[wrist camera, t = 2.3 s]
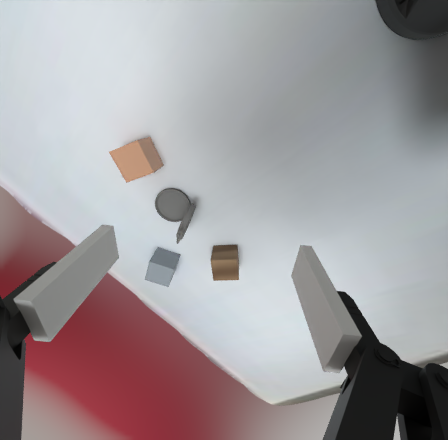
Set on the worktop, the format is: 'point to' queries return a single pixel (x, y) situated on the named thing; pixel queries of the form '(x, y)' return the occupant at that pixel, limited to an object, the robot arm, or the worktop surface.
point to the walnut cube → (225, 262)
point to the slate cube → (162, 267)
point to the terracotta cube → (137, 159)
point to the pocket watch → (175, 209)
